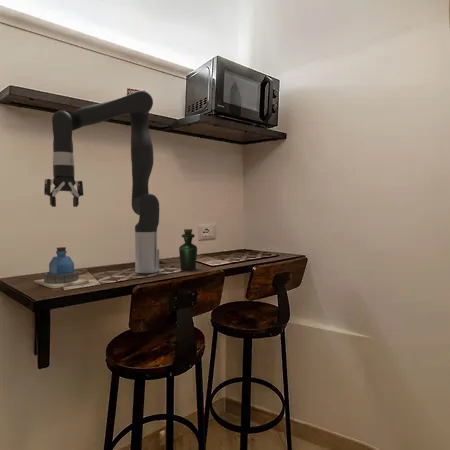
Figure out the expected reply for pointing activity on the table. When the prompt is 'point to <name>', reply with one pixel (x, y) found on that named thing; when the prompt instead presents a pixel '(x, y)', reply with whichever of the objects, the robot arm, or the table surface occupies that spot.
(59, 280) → the hub board
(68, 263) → the perfume bottle
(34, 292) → the table surface
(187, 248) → the potion bottle
